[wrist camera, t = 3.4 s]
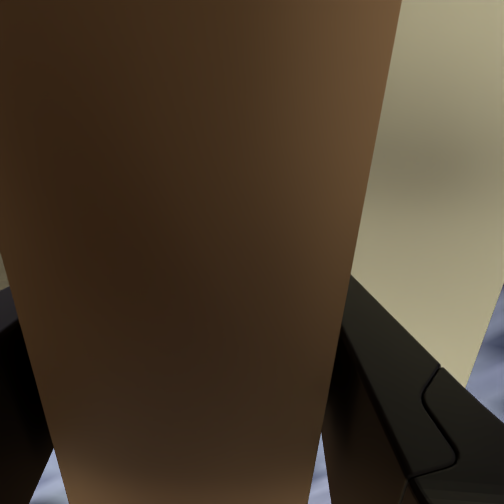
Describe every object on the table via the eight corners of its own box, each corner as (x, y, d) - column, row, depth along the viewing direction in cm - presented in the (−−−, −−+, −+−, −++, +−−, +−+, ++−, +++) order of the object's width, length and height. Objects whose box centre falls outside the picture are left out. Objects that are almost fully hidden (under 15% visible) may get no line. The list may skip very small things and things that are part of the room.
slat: (357, -92, 7) (428, -144, 3) (288, 428, 14) (286, 613, 10) (96, -105, 7) (-115, -170, 4) (149, 415, 14) (93, 593, 10)
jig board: (784, -551, 9) (824, -594, 8) (450, 399, 22) (455, 413, 22) (399, -542, 9) (407, -581, 8) (300, 388, 23) (300, 402, 22)
